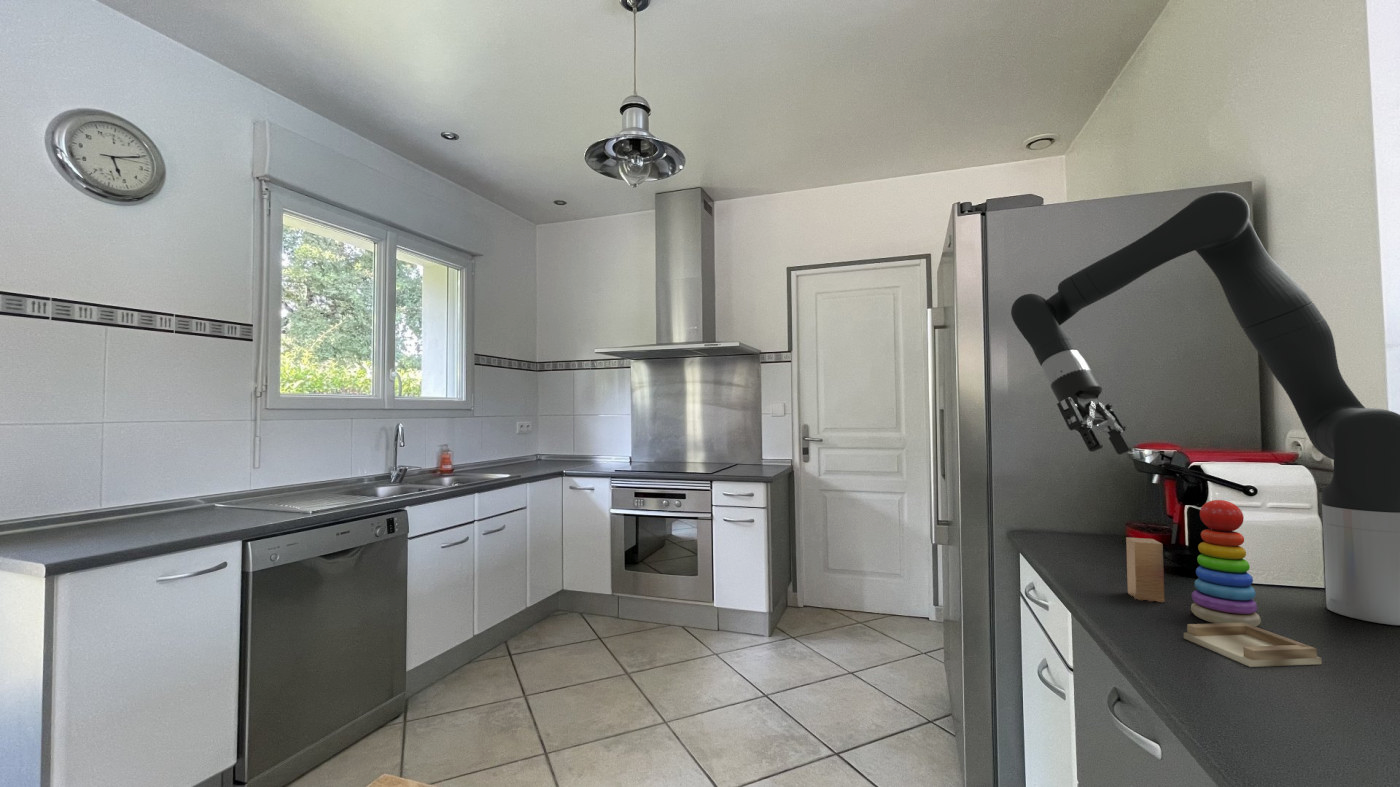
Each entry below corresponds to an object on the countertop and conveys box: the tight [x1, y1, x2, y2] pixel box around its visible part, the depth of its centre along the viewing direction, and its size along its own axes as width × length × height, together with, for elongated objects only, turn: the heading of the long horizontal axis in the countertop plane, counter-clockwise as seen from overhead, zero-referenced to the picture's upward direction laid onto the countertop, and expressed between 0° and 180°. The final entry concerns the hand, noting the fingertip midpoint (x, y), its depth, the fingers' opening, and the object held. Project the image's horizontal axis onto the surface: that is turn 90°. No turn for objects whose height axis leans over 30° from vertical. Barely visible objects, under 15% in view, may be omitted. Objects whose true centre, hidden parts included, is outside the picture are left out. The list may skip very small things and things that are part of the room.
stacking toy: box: [1190, 499, 1262, 627], centre depth 87 cm, size 8×8×19 cm
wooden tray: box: [1183, 623, 1322, 668], centre depth 76 cm, size 10×9×2 cm
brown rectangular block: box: [1125, 537, 1165, 603], centre depth 98 cm, size 4×4×10 cm
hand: (1111, 451), depth 102 cm, fingers open, 8 cm apart
